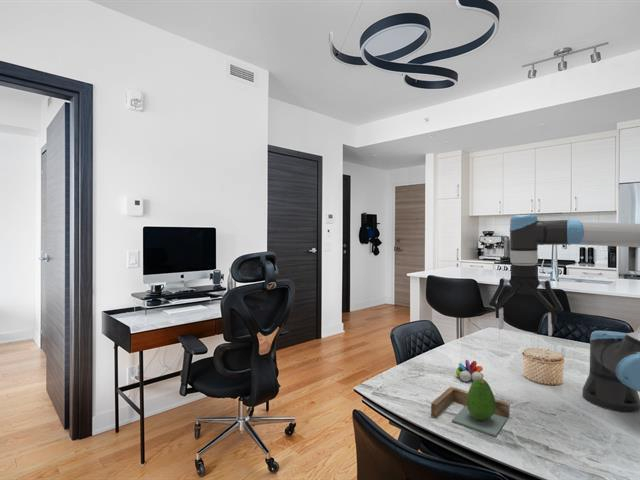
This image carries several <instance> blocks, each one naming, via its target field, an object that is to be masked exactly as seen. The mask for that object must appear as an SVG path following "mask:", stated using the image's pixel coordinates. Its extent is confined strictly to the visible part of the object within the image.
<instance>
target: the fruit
mask: <svg viewBox="0 0 640 480" xmlns="http://www.w3.org/2000/svg"><path fill="white" fill-rule="evenodd" d="M495 399H496V398H495V395H494V392H493V391H492V388H491V386H490V385H489V383H488V382H487V381H486V380H485V379H484V378H483V379H480V378H478V379H476V380H474V381H473V380H472V382H471V384H470V388H469V389H468V394H467V407H468V410H469V412H470V414H471V415H472V416H473V417H474V418H475V419H477V420H487V419H489V418H490V417H491V416H492V415H493V414H494V412H495V407H496V401H495Z"/></svg>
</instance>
